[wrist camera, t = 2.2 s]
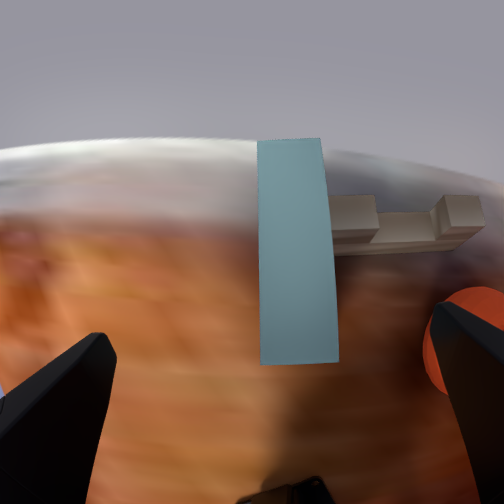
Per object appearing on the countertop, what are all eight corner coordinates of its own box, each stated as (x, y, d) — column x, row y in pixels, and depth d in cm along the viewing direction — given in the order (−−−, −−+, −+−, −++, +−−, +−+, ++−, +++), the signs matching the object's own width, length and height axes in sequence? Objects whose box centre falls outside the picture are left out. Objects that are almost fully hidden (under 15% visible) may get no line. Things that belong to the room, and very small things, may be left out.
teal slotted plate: (314, 355, 20) (339, 362, 9) (276, 356, 20) (260, 365, 10) (308, 236, 22) (319, 138, 12) (273, 237, 22) (257, 141, 12)
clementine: (506, 357, 17) (567, 352, 11) (446, 424, 17) (501, 446, 10) (453, 277, 20) (507, 247, 13) (387, 342, 19) (430, 336, 13)
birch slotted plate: (452, 250, 20) (485, 225, 16) (322, 256, 22) (331, 230, 17) (447, 224, 21) (478, 195, 16) (320, 228, 22) (327, 196, 17)
